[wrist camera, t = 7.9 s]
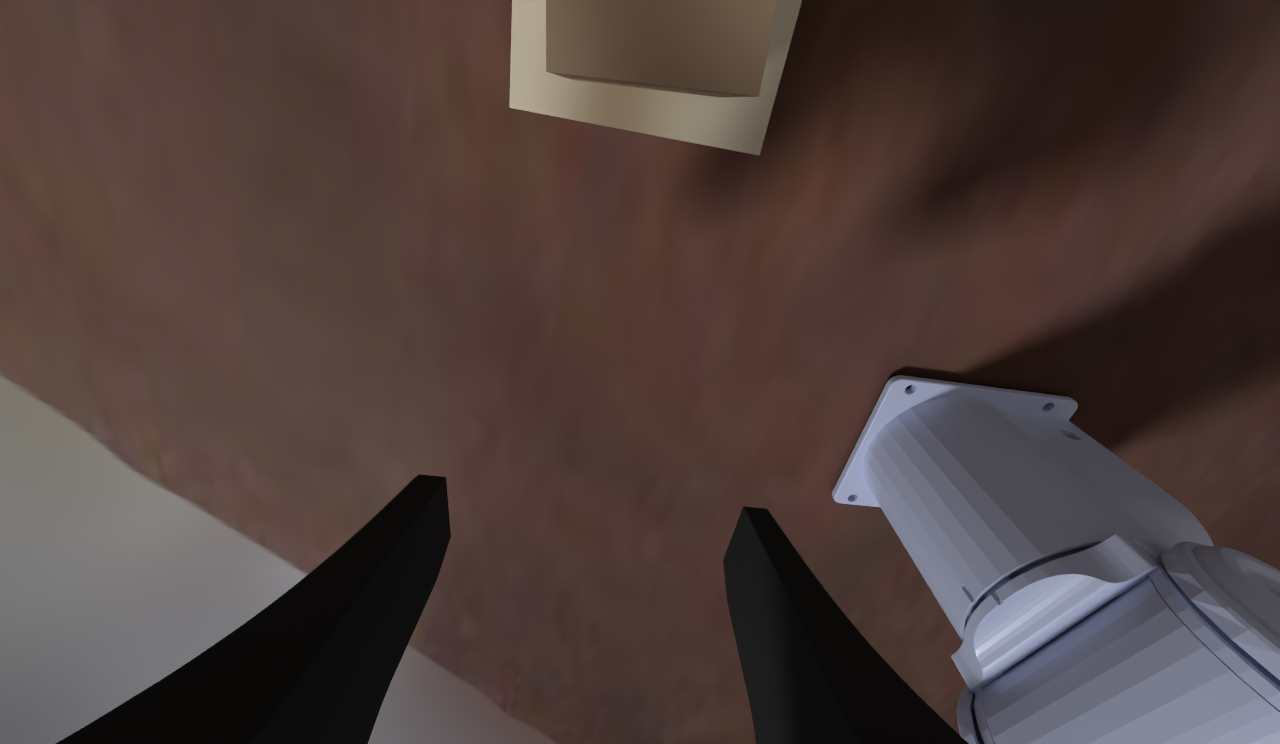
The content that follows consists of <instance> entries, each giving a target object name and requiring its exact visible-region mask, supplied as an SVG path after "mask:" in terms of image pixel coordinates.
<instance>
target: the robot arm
mask: <svg viewBox="0 0 1280 744" xmlns="http://www.w3.org/2000/svg"><path fill="white" fill-rule="evenodd" d="M909 385H912V386H911V387H910V388H909V389H907V390H905V389H906V387H907V386H909ZM1077 408H1078V403H1077V402H1076V401H1075V400H1073V399H1072V398H1070V397H1065V396H1057V395H1049V394H1042V393H1034V392H1026V391H1019V390H1011V389H1003V388H996V387H988V386H980V385H972V384H965V383H957V382H949V381H942V380H934V379H926V378H918V377H911V376H903V375H897V376H894V377H892V378H891V379H889V381H888V382H887V383H886V385H885V387H884V389H883V391H882V393H881V395H880V397H879V399H878V401H877V403H876V405H875V407H874V409H873V411H872V413H871V415H870V417H869V419H868V421H867V423H866V425H865V427H864V429H863V431H862V433H861V435H860V437H859V439H858V441H857V443H856V445H855V447H854V449H853V451H852V453H851V455H850V458H849V460H848V462H847V464H846V466H845V468H844V470H843V472H842V474H841V476H840V478H839V480H838V482H837V484H836V486H835V488H834V490H833V492H832V496H833V498H834V500H835V501H836V502H838V503H843V504H853V505H863V506H873V507H881V509H882V510H883V512H884V514H885V515H886V517H887V519H888V520H889V522H890V524H891V525H892V527H893V528H894V530H895V532H896V533H897V535H898V537H899V538H900V540H901V542H902V543H903V545H904V546H905V548H906V550H907V551H908V553H909V555H910V556H911V558H912V560H913V561H914V563H915V565H916V566H917V568H918V569H919V571H920V573H921V574H922V576H923V578H924V579H925V581H926V583H927V584H928V586H929V587H930V589H931V591H932V592H933V594H934V596H935V597H936V599H937V601H938V602H939V604H940V605H941V607H942V609H943V610H944V612H945V614H946V615H947V617H948V619H949V620H950V622H951V624H952V625H953V627H954V628H955V630H956V632H957V633H958V635H959V637H960V638H961V640H962V642H963V643H962V645H961V646H960V648H959V649H958V650H957V651H956V652H955V653H953V654H952V656H951V657H952V659H953V661H954V663H955V664H956V666H957V668H958V670H959V671H960V673H961V675H962V677H963V678H964V680H965V682H966V684H967V685H968V686H967V687H966V688H965V689H964V690H963V691H962V693H961V695H960V697H959V700H958V704H957V721H958V727H959V732H960V735H959V734H958V733H957V732H956V731H954V730H953V729H952V728H951V727H950V726H949V725H948V724H947V723H946V722H945V721H944V720H943V719H942V718H941V717H940V716H939V715H938V714H937V713H936V712H935V711H934V710H933V709H932V708H930V707H929V706H928V705H927V704H926V703H925V702H924V701H923V700H922V699H921V698H920V697H919V696H918V695H917V694H916V693H915V692H914V691H913V690H912V689H911V688H910V687H909V686H908V685H907V684H906V683H905V682H904V681H903V680H902V679H901V678H900V677H899V675H898V674H897V673H896V672H895V671H894V670H893V669H892V668H891V667H890V666H889V665H888V664H887V663H886V661H885V660H884V659H883V658H882V657H881V656H880V655H879V654H878V653H877V652H876V651H875V650H874V648H873V647H872V646H871V645H870V644H869V643H868V642H867V641H866V639H865V638H864V637H863V636H862V635H861V634H860V632H859V631H858V630H857V629H856V628H855V626H854V625H853V624H852V623H851V622H850V620H849V619H848V618H847V617H846V616H845V614H844V613H843V612H842V611H841V609H840V608H839V607H838V606H837V604H836V603H835V602H834V601H833V599H832V598H831V597H830V595H829V594H828V593H827V591H826V590H825V589H824V587H823V586H822V585H821V584H820V582H819V581H818V580H817V578H816V577H815V576H814V574H813V573H812V572H811V570H810V569H809V567H808V566H807V565H806V563H805V562H804V561H803V559H802V558H801V556H800V555H799V554H798V552H797V551H796V549H795V548H794V547H793V545H792V544H791V542H790V541H789V539H788V538H787V537H786V535H785V534H784V532H783V531H782V529H781V528H780V527H779V525H778V524H777V522H776V521H775V519H774V518H773V517H772V515H771V514H770V512H769V511H768V510H767V509H762V508H752V507H743V509H742V512H741V514H740V517H739V520H738V522H737V525H736V528H735V530H734V533H733V536H732V538H731V541H730V544H729V546H728V549H727V552H726V554H725V557H724V560H723V562H724V573H725V584H726V593H727V601H728V606H729V611H730V616H731V621H732V625H733V630H734V634H735V639H736V644H737V648H738V652H739V657H740V661H741V666H742V670H743V675H744V679H745V684H746V688H747V693H748V697H749V702H750V707H751V713H752V718H753V724H754V731H755V738H756V744H1280V571H1279V570H1278V569H1276V568H1274V567H1272V566H1270V565H1268V564H1266V563H1264V562H1262V561H1260V560H1258V559H1256V558H1254V557H1252V556H1249V555H1247V554H1245V553H1242V552H1240V551H1237V550H1234V549H1230V548H1224V547H1215V546H1214V545H1213V543H1212V541H1211V539H1210V537H1209V535H1208V533H1207V532H1206V530H1205V529H1204V528H1203V526H1202V525H1201V523H1200V522H1199V521H1198V519H1197V518H1196V517H1195V516H1194V515H1193V514H1192V513H1191V512H1190V511H1189V510H1188V509H1187V508H1186V507H1185V506H1184V505H1182V504H1181V503H1180V502H1178V501H1177V500H1176V499H1174V498H1173V497H1172V496H1170V495H1169V494H1168V493H1166V492H1165V491H1164V490H1162V489H1161V488H1159V487H1158V486H1157V485H1155V484H1154V483H1153V482H1151V481H1150V480H1149V479H1147V478H1146V477H1145V476H1143V475H1142V474H1140V473H1139V472H1138V471H1136V470H1135V469H1134V468H1132V467H1131V466H1130V465H1128V464H1127V463H1126V462H1124V461H1123V460H1121V459H1120V458H1119V457H1117V456H1116V455H1115V454H1113V453H1112V452H1111V451H1109V450H1108V449H1107V448H1105V447H1104V446H1102V445H1101V444H1100V443H1098V442H1097V441H1096V440H1094V439H1093V438H1092V437H1090V436H1089V435H1087V434H1086V433H1085V432H1083V431H1082V430H1081V429H1079V428H1078V427H1077V426H1075V425H1074V424H1073V423H1071V422H1070V421H1068V420H1069V419H1070V418H1071V416H1072V415H1073V414H1074V412H1075V411H1076V410H1077ZM850 495H851V496H850ZM450 537H451V534H450V522H449V509H448V497H447V484H446V477H439V476H429V475H418V476H416V477H415V478H414V479H413V480H412V481H411V482H410V483H409V484H408V485H407V486H406V487H405V488H404V489H403V490H402V491H401V492H400V493H399V494H398V495H397V496H396V497H394V498H393V499H392V500H391V501H390V502H389V503H388V504H387V505H386V506H385V507H384V508H383V509H382V510H381V511H380V512H379V513H378V514H377V515H376V516H375V517H373V518H372V519H371V520H370V521H369V522H368V523H367V524H366V525H365V526H364V527H363V528H361V529H360V530H359V531H358V532H357V533H356V534H355V535H354V536H353V537H351V538H350V539H349V540H348V541H347V542H346V543H345V544H344V545H343V546H342V547H340V548H339V549H338V550H337V551H336V552H335V553H333V554H332V555H331V556H330V557H329V558H327V559H326V560H325V561H324V562H323V563H321V564H320V565H319V566H318V567H317V568H315V569H314V570H313V571H312V572H311V573H309V574H308V575H307V576H306V577H305V578H303V579H302V580H301V581H300V582H299V583H298V584H296V585H295V586H294V587H292V588H291V589H290V590H288V591H287V592H286V593H285V594H283V595H282V596H281V597H280V598H278V599H277V600H276V601H275V602H273V603H272V604H270V605H269V606H268V607H267V608H265V609H264V610H262V611H261V612H260V613H258V614H257V615H256V616H254V617H253V618H252V619H250V620H249V621H247V622H246V623H245V624H243V625H242V626H241V627H239V628H238V629H236V630H235V631H234V632H232V633H231V634H229V635H228V636H226V637H225V638H223V639H222V640H220V641H219V642H217V643H216V644H215V645H213V646H212V647H210V648H209V649H207V650H206V651H204V652H203V653H201V654H200V655H199V656H197V657H196V658H194V659H193V660H191V661H190V662H188V663H187V664H185V665H184V666H182V667H181V668H179V669H177V670H176V671H174V672H173V673H171V674H170V675H168V676H167V677H165V678H164V679H162V680H161V681H159V682H157V683H155V684H154V685H152V686H151V687H149V688H147V689H146V690H144V691H142V692H141V693H139V694H138V695H136V696H134V697H133V698H131V699H130V700H128V701H126V702H125V703H123V704H122V705H120V706H118V707H117V708H115V709H113V710H112V711H110V712H108V713H107V714H105V715H103V716H102V717H100V718H99V719H97V720H95V721H94V722H92V723H90V724H89V725H87V726H85V727H84V728H82V729H80V730H79V731H77V732H75V733H73V734H72V735H70V736H68V737H67V738H65V739H63V740H61V741H60V742H58V743H56V744H368V741H369V738H370V735H371V732H372V730H373V727H374V724H375V721H376V718H377V716H378V713H379V710H380V707H381V704H382V702H383V699H384V697H385V694H386V692H387V690H388V687H389V685H390V682H391V680H392V678H393V676H394V673H395V671H396V669H397V667H398V664H399V662H400V660H401V658H402V656H403V653H404V651H405V649H406V647H407V645H408V642H409V640H410V638H411V636H412V634H413V631H414V629H415V627H416V625H417V623H418V620H419V618H420V616H421V614H422V612H423V609H424V607H425V605H426V603H427V600H428V598H429V596H430V594H431V591H432V589H433V587H434V585H435V582H436V580H437V577H438V574H439V571H440V568H441V565H442V562H443V559H444V556H445V553H446V550H447V546H448V543H449V540H450Z"/></svg>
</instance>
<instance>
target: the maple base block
mask: <svg viewBox="0 0 1280 744" xmlns="http://www.w3.org/2000/svg"><path fill="white" fill-rule="evenodd" d="M801 3H802V0H778V3H777V8H776V13H775V18H774V23H773V28H772V33H771V38H770V43H769V48H768V53H767V58H766V63H765V68H764V73H763V79H762V84H761V89H760V94H759V97H712V96H704V95H695V94H687V93H678V92H670V91H661V90H653V89H644V88H636V87H627V86H618V85H610V84H601V83H593V82H584V81H576V80H571V79H568V78H564V77H561V76H558V75H555V74H552V73H549V72H546V0H512V31H511V70H510V108H514V109H520V110H525V111H530V112H535V113H540V114H546V115H551V116H556V117H561V118H566V119H572V120H577V121H582V122H587V123H592V124H598V125H603V126H608V127H613V128H618V129H624V130H629V131H634V132H639V133H644V134H650V135H655V136H660V137H665V138H670V139H676V140H681V141H686V142H691V143H696V144H702V145H707V146H712V147H717V148H723V149H728V150H733V151H738V152H743V153H749V154H754V155H760V152H761V148H762V145H763V141H764V137H765V134H766V130H767V126H768V123H769V119H770V115H771V112H772V108H773V105H774V101H775V97H776V94H777V90H778V86H779V83H780V79H781V75H782V72H783V68H784V65H785V61H786V57H787V54H788V50H789V46H790V43H791V39H792V35H793V32H794V28H795V24H796V21H797V17H798V14H799V10H800V6H801Z"/></svg>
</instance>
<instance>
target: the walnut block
mask: <svg viewBox="0 0 1280 744" xmlns="http://www.w3.org/2000/svg"><path fill="white" fill-rule="evenodd" d="M777 3H778V0H546V72H549V73H552V74H555V75H558V76H561V77H564V78H568V79H571V80H576V81H584V82H593V83H601V84H610V85H618V86H627V87H636V88H644V89H653V90H661V91H670V92H678V93H687V94H695V95H704V96H712V97H759V94H760V89H761V84H762V79H763V73H764V68H765V63H766V58H767V53H768V48H769V43H770V38H771V33H772V28H773V23H774V18H775V13H776V8H777Z"/></svg>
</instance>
